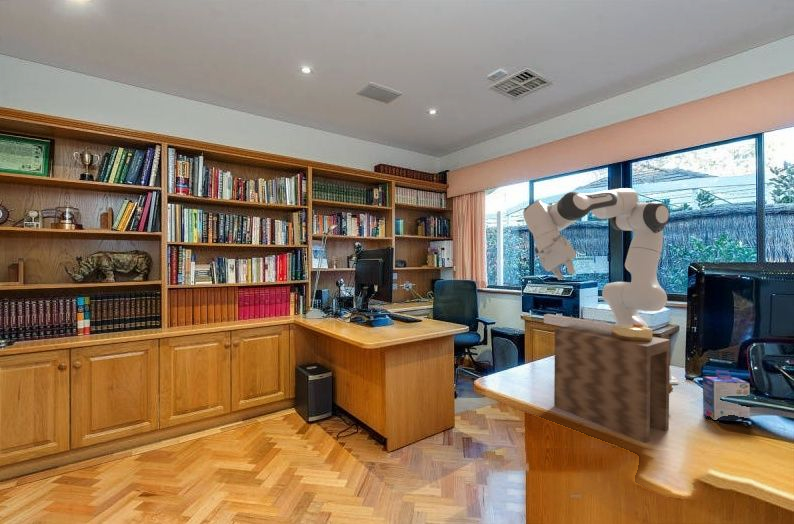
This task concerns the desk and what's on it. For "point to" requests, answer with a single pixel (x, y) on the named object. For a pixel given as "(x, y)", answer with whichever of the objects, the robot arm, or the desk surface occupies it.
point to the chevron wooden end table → (613, 380)
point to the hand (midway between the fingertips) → (566, 276)
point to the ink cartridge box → (724, 395)
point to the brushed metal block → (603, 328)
